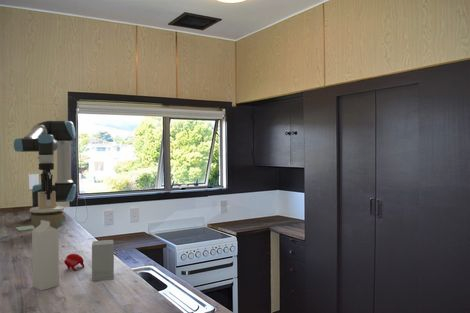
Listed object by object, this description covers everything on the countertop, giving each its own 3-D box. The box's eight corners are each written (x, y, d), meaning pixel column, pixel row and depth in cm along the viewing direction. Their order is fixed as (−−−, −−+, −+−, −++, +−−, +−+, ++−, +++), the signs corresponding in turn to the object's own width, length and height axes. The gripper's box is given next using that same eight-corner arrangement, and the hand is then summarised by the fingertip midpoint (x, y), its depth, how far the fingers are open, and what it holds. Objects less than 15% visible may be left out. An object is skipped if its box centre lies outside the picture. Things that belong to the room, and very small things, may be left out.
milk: (50, 282, 135) (49, 218, 135) (59, 285, 132) (58, 220, 131) (32, 287, 130) (31, 221, 130) (41, 290, 127) (40, 222, 126)
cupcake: (68, 224, 240) (67, 204, 240) (60, 226, 232) (60, 206, 231) (54, 223, 241) (54, 204, 241) (46, 226, 233) (46, 206, 232)
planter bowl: (30, 237, 205) (30, 216, 204) (30, 231, 219) (30, 212, 219) (64, 233, 212) (63, 213, 212) (62, 228, 226) (61, 209, 226)
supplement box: (113, 279, 137) (113, 243, 137) (91, 281, 135) (91, 245, 135) (114, 273, 145) (113, 239, 144) (92, 275, 142) (92, 240, 142)
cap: (69, 265, 144) (83, 253, 148) (60, 257, 147) (73, 246, 151) (76, 277, 149) (89, 266, 153) (67, 270, 152) (80, 259, 156)
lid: (25, 210, 216) (25, 191, 216) (58, 206, 228) (57, 189, 227) (34, 213, 204) (34, 194, 203) (68, 210, 215) (68, 191, 215)
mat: (15, 228, 227) (15, 227, 227) (33, 226, 234) (33, 225, 234) (19, 231, 219) (19, 230, 219) (39, 228, 225) (39, 227, 225)
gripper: (34, 162, 219) (35, 204, 219) (43, 163, 206) (44, 207, 207) (48, 161, 224) (49, 202, 224) (58, 162, 211) (59, 206, 212)
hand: (46, 204), depth 215 cm, fingers closed on lid, 4 cm apart
